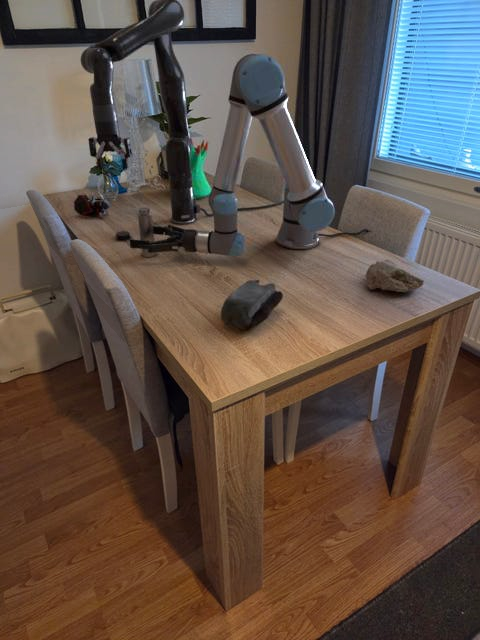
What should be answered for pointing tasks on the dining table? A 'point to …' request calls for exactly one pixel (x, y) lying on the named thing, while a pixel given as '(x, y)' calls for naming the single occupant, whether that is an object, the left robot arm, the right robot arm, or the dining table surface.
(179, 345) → the dining table surface
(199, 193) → the toy
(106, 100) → the left robot arm
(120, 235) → the lid
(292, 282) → the dining table surface
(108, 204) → the toy
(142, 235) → the brown long cylinder
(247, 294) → the dark grey soft lump
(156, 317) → the dining table surface
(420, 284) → the artifact
